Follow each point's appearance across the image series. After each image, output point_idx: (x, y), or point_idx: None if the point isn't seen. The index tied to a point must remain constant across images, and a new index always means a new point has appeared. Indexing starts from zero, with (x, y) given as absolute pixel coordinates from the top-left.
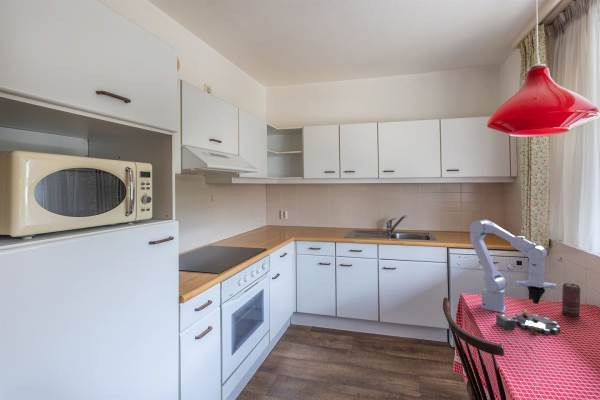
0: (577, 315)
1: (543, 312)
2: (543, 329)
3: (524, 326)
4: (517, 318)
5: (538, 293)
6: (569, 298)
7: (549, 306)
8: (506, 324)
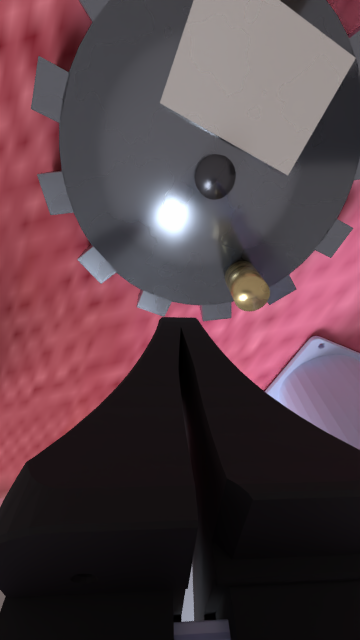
0: None
1: (78, 388)
2: None
3: None
4: (332, 206)
5: (180, 415)
6: None
7: (29, 453)
8: None
